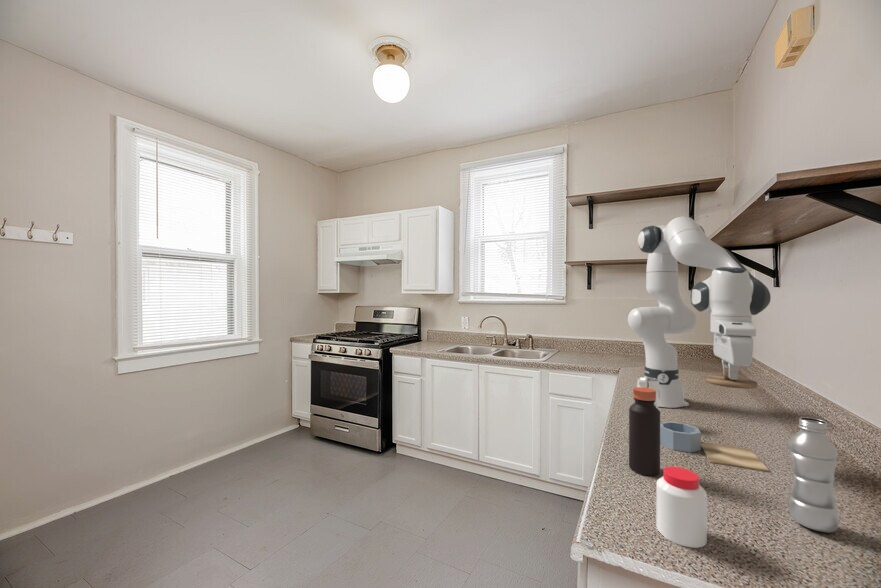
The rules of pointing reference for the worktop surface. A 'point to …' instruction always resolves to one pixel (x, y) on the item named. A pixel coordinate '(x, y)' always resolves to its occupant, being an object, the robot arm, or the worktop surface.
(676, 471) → the pill bottle
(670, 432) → the bowl
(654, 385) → the beer glass
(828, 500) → the plastic bottle
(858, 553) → the worktop surface
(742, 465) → the tan flat square piece
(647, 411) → the vinegar
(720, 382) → the lid
